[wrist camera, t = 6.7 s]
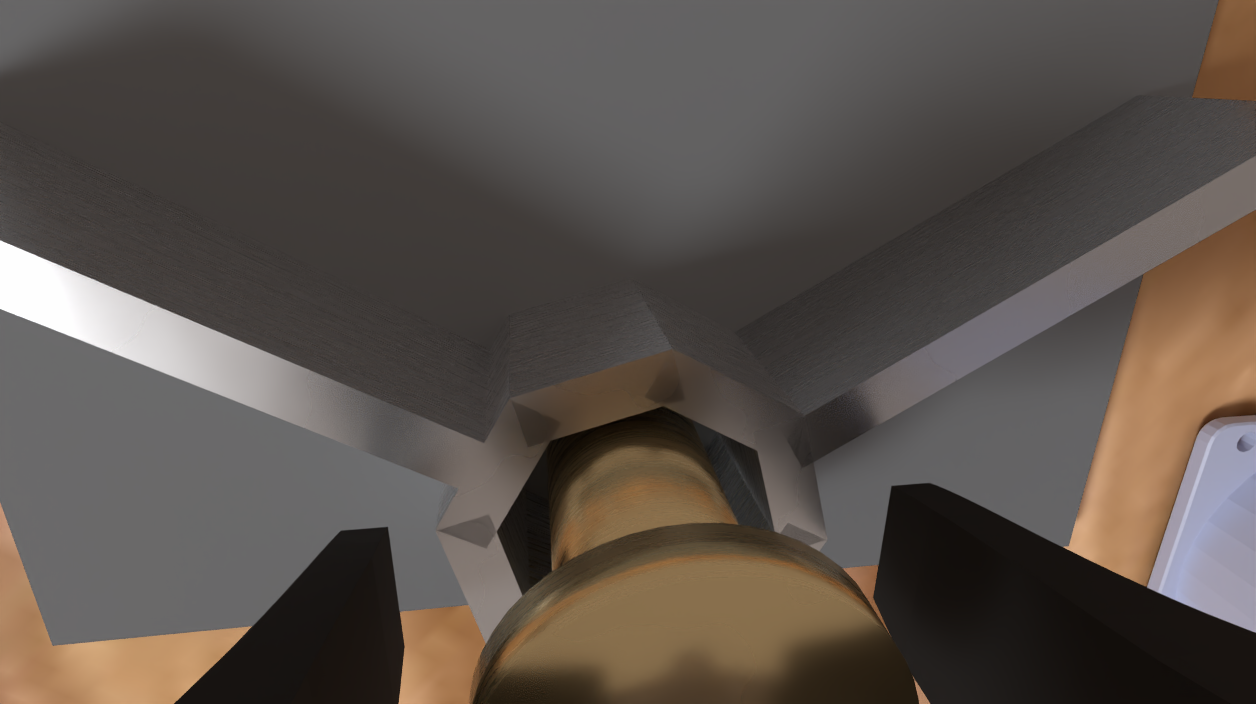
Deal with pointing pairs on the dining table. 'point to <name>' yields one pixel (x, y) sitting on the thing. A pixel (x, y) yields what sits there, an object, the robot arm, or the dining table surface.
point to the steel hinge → (618, 325)
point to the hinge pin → (678, 592)
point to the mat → (532, 241)
